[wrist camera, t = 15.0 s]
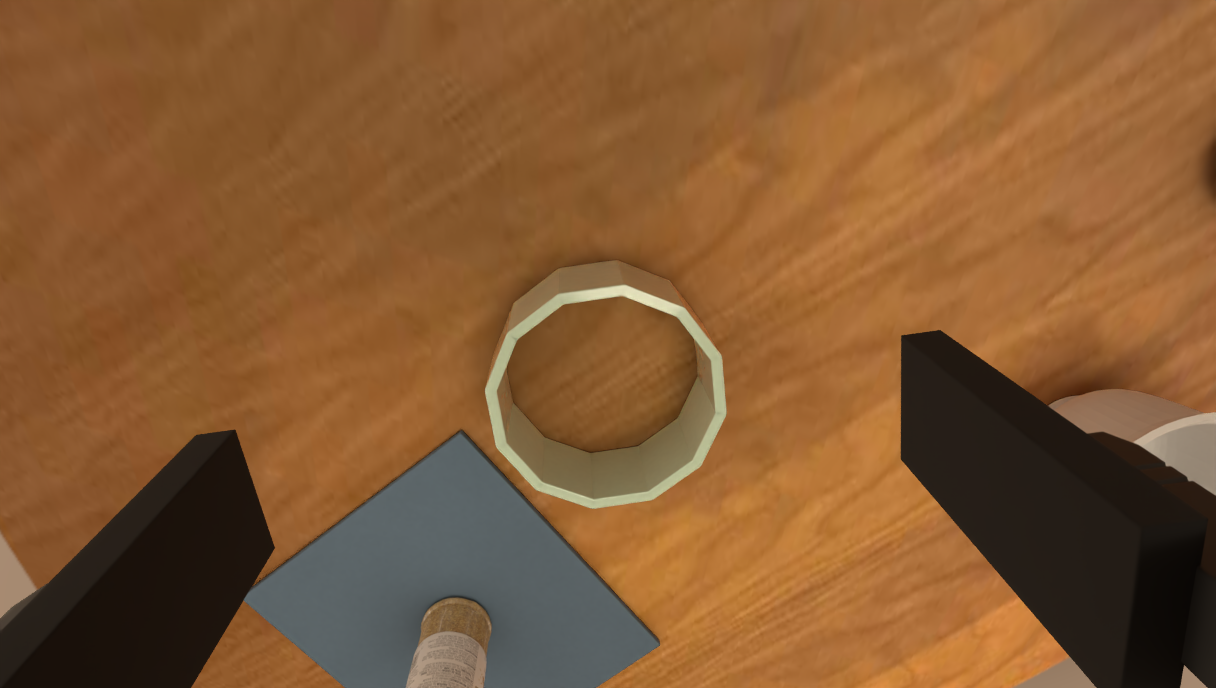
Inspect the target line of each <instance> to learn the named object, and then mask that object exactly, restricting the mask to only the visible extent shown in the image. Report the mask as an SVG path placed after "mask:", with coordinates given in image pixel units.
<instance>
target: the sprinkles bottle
mask: <svg viewBox="0 0 1216 688" xmlns="http://www.w3.org/2000/svg"><path fill="white" fill-rule="evenodd" d="M491 629H492V624H491V621H490V617H489V615H488V614H487V612H486V611H485V610H484V609H483V608H482V607H481V606H480V605H479V604H477V603H476V602H474V601H471V600H467V599H464V598H458V597H455V598H447V599H443V600H441V601H439V602H437V603H435V604H434V605H433V606H431V607H430V608H429V609H428V610H427V611H426V613H425V615H424V617H423V620H422V623H421V636H420V640H419V643H418V647H417V649H416V651H415V654H414V657H413V661H412V665H411V669H410V673H409V676H408V680H407V684H406V688H483V687H484V680H485V672H486V663H487V662H486V655H487V648H488V641H489V639H490V636H491Z"/></svg>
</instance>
